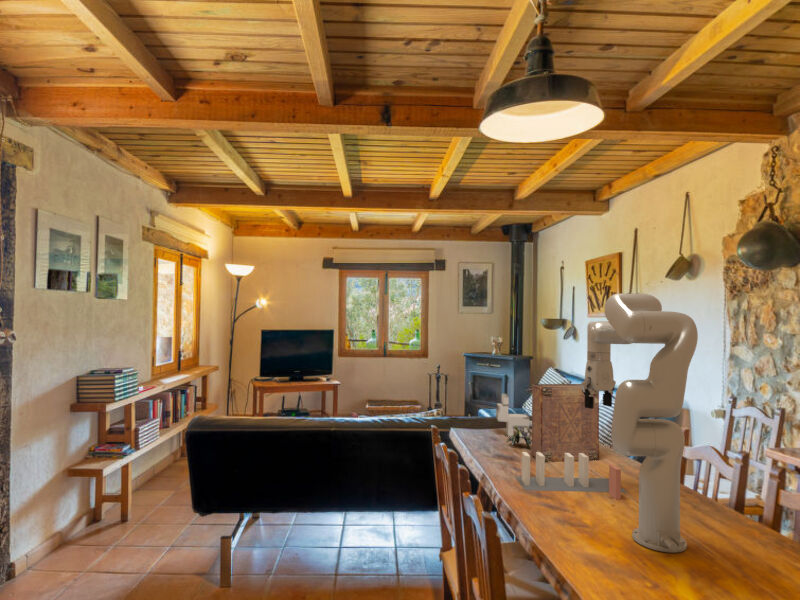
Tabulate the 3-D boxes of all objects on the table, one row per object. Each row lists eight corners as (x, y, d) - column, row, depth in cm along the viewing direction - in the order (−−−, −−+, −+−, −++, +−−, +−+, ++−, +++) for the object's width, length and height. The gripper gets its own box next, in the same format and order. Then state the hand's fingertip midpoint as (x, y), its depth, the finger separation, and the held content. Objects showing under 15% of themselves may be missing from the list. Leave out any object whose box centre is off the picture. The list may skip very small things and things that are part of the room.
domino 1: (529, 485, 168) (530, 456, 168) (525, 485, 168) (525, 455, 168) (526, 480, 173) (526, 452, 173) (521, 480, 173) (521, 451, 173)
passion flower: (528, 460, 220) (538, 442, 213) (504, 455, 219) (514, 437, 212) (523, 440, 229) (533, 422, 223) (501, 436, 228) (510, 418, 222)
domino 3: (573, 486, 168) (574, 457, 168) (569, 486, 168) (569, 456, 168) (568, 481, 173) (569, 452, 173) (564, 481, 173) (564, 452, 173)
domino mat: (627, 494, 164) (627, 492, 164) (524, 492, 163) (524, 490, 164) (609, 480, 178) (609, 478, 178) (515, 478, 177) (515, 476, 178)
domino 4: (588, 486, 168) (588, 457, 168) (583, 486, 168) (584, 457, 168) (583, 482, 173) (583, 453, 173) (578, 481, 173) (578, 453, 173)
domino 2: (544, 486, 168) (544, 456, 168) (539, 485, 168) (540, 456, 168) (540, 481, 173) (540, 452, 173) (535, 481, 173) (536, 452, 173)
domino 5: (620, 501, 157) (620, 469, 157) (615, 501, 157) (615, 469, 157) (613, 495, 162) (614, 464, 162) (608, 495, 162) (609, 464, 162)
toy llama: (534, 438, 237) (535, 396, 238) (497, 437, 239) (498, 395, 239) (531, 434, 244) (532, 394, 245) (496, 433, 246) (496, 393, 247)
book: (586, 454, 211) (587, 383, 212) (599, 460, 202) (599, 386, 203) (531, 456, 207) (532, 384, 208) (541, 462, 198) (542, 387, 199)
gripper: (591, 358, 163) (591, 410, 163) (624, 357, 172) (623, 406, 172) (573, 357, 170) (572, 407, 169) (605, 355, 179) (604, 403, 178)
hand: (598, 406), depth 171 cm, fingers open, 9 cm apart
